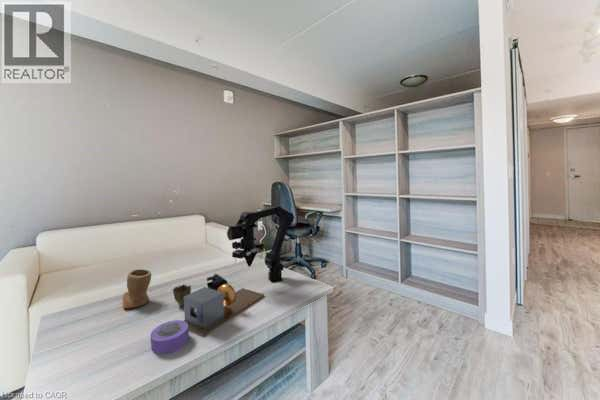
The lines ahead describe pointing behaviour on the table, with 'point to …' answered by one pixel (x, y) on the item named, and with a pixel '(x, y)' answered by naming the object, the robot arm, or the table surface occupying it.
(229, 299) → the gold rounded piece
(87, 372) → the table surface
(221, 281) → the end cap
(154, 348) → the tape roll
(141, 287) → the brown boot
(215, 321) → the housing
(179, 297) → the cup
